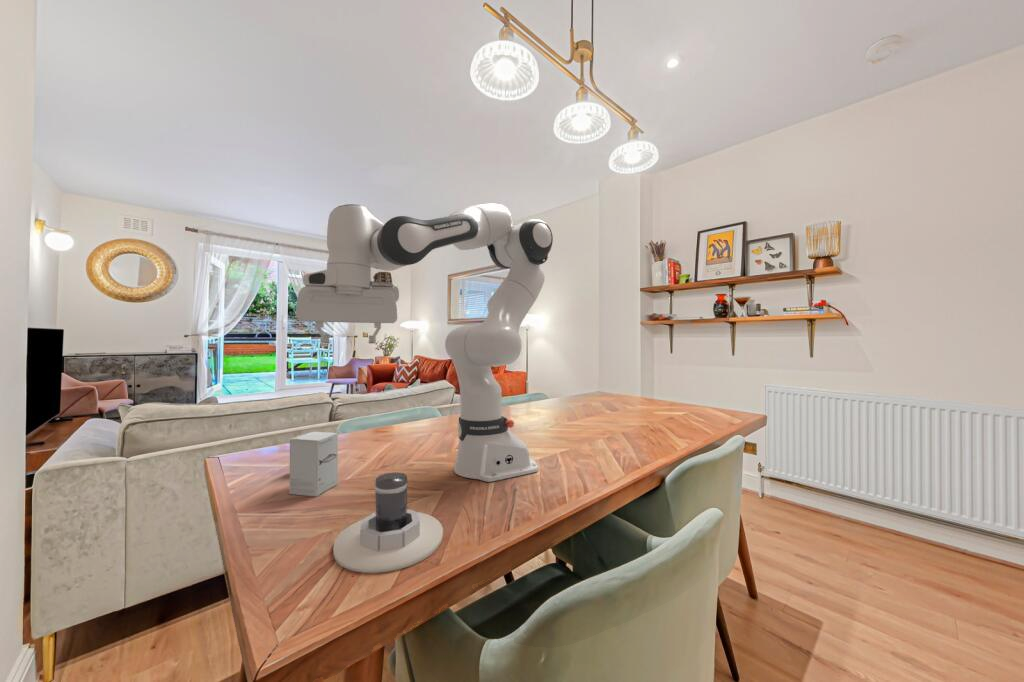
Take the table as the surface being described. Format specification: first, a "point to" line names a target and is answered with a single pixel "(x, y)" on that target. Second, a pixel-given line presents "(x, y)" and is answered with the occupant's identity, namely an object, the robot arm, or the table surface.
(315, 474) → the supplement box
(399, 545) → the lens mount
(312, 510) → the table surface
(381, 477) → the lens
